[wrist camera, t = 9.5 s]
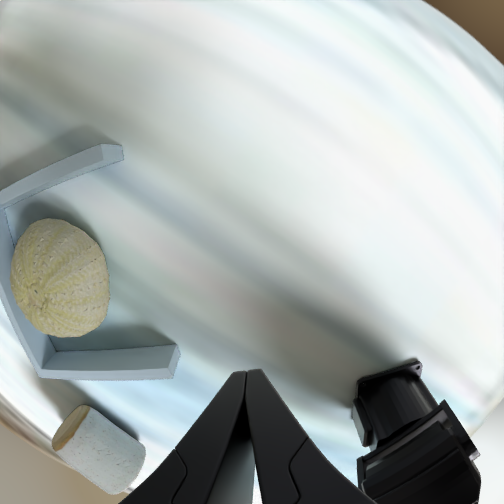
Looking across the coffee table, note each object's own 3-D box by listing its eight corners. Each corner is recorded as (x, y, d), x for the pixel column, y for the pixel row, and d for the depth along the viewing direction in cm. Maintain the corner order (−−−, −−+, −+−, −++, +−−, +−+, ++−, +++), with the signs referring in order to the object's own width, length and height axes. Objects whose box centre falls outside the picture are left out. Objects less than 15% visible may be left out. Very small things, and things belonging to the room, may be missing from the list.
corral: (121, 145, 17) (100, 143, 14) (180, 354, 22) (172, 378, 19) (-4, 200, 18) (-27, 207, 15) (54, 359, 22) (39, 377, 20)
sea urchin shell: (-2, 265, 18) (-25, 251, 12) (64, 216, 22) (69, 184, 16) (56, 353, 20) (56, 375, 14) (119, 299, 25) (143, 299, 18)
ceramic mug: (91, 390, 23) (60, 445, 16) (153, 436, 25) (136, 493, 18) (58, 417, 26) (33, 460, 18) (109, 455, 28) (92, 499, 20)
